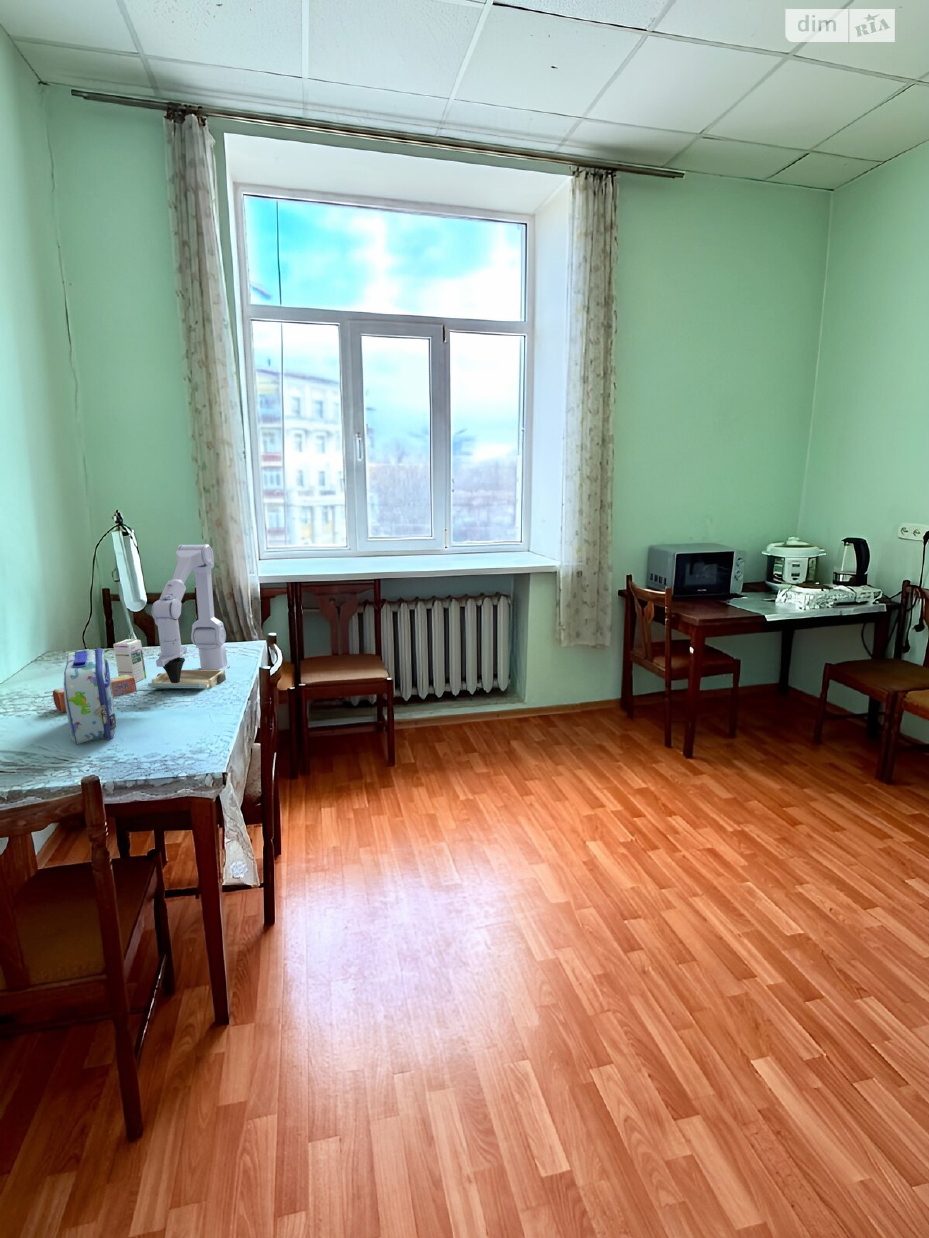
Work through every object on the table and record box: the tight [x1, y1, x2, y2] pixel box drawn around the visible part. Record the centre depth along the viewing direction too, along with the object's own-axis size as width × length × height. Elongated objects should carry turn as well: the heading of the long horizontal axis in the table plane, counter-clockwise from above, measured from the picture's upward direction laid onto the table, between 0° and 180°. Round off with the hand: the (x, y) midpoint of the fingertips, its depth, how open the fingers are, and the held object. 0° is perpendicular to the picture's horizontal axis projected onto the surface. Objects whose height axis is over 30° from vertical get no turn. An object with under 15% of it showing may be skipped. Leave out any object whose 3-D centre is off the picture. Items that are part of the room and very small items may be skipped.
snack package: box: [52, 675, 137, 713], centre depth 193 cm, size 21×7×7 cm, turn 135°
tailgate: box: [147, 682, 208, 689], centre depth 198 cm, size 1×16×5 cm
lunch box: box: [63, 647, 117, 744], centre depth 170 cm, size 26×11×21 cm, turn 29°
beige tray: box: [151, 669, 227, 689], centre depth 205 cm, size 10×21×4 cm, turn 86°
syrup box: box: [113, 638, 147, 684], centre depth 207 cm, size 6×6×14 cm
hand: (175, 682), depth 196 cm, fingers closed
